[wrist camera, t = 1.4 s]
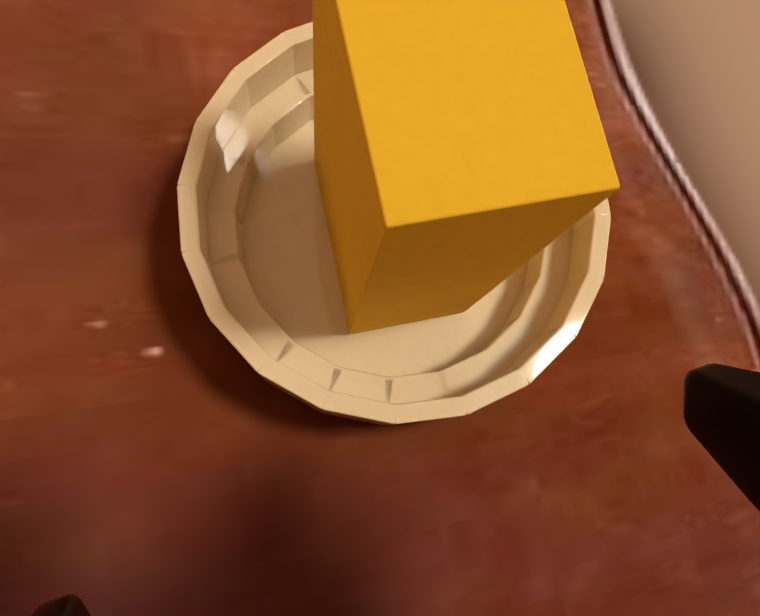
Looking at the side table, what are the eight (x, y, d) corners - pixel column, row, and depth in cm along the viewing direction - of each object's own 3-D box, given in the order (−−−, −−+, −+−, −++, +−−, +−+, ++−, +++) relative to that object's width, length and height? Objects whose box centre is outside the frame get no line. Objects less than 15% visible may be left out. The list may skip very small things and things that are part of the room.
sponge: (465, 312, 23) (622, 187, 11) (349, 334, 22) (385, 227, 10) (424, 144, 24) (527, -129, 12) (314, 160, 23) (310, -110, 12)
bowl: (631, 254, 24) (691, 221, 20) (378, 506, 21) (392, 523, 17) (394, 14, 25) (409, -61, 22) (122, 221, 22) (82, 177, 19)
